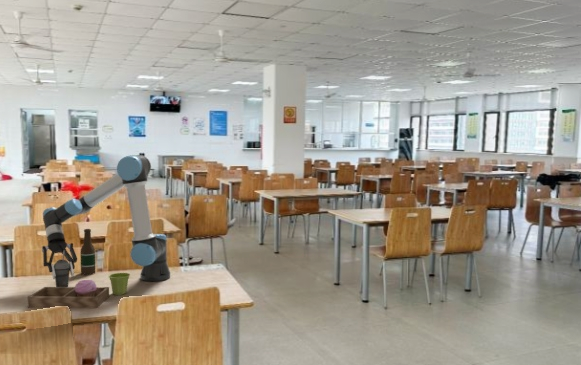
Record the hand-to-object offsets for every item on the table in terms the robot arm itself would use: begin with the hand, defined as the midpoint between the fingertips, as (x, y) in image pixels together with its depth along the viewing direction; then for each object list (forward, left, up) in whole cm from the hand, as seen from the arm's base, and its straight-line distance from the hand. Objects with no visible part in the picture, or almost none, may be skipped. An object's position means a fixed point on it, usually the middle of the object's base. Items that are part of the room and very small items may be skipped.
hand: (63, 276), depth 226 cm
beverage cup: (+2, -3, -9) cm, 9 cm away
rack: (-8, +11, -9) cm, 16 cm away
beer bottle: (+3, -37, -9) cm, 38 cm away
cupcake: (-15, +11, -9) cm, 20 cm away
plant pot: (-25, -2, -9) cm, 27 cm away
